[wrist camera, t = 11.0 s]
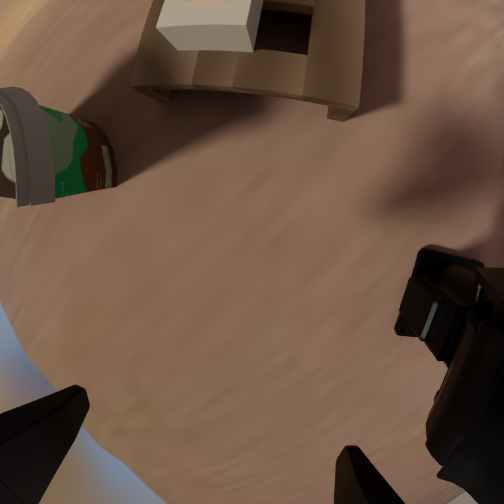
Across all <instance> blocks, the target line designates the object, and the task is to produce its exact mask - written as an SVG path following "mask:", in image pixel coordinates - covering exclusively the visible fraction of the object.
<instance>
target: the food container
mask: <svg viewBox="0 0 504 504" xmlns="http://www.w3.org/2000/svg"><path fill="white" fill-rule="evenodd" d="M116 175H117V170H116V164H115V158H114V153H113V149H112V147H111V145H110V143H109V141H108V138H107V136H106V134H105V133H104V132H103V131H102V130H101V129H100V128H99V127H98V126H97V125H96V124H95V123H93V122H90V121H87V120H84V119H81V118H78V117H75V116H72V115H69V114H66V113H63V112H60V111H56V110H53V109H50V108H46V107H43V106H40V105H38V103H37V101H36V99H35V98H34V97H33V96H32V95H31V94H30V93H29V92H28V91H26V90H24V89H22V88H18V87H7V88H0V197H7V198H14V199H16V207H21V206H26V205H30V206H31V205H38V204H45V203H52V202H55V199H56V198H60V197H65V196H70V195H75V194H80V193H85V192H90V191H96V190H101V189H107V188H113V187H116Z"/></svg>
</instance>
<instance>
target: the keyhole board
mask: <svg viewBox="0 0 504 504" xmlns="http://www.w3.org/2000/svg"><path fill="white" fill-rule="evenodd" d="M164 1H165V0H153V3H152V6H151V9H150V11H149V14H148V17H147V20H146V24H145V27H144V30H143V33H142V37H141V40H140V43H139V47H138V51H137V54H136V58H135V62H134V66H133V70H132V74H131V79H130V83H129V87H131V88H133V89H135V90H137V91H139V92H141V93H143V94H145V95H147V96H149V97H151V98H153V99H155V100H157V101H171V98H172V93H173V89H185V90H213V91H228V92H240V93H251V94H260V95H268V96H275V97H282V98H289V99H295V100H301V101H307V102H312V103H317V104H322V105H327V106H329V108H328V115H327V118H328V119H333V120H338V121H342V122H343V121H344V120H345V119H346V118H348V117H349V116H350V115H351V114H352V113H353V112H354V111H355V110H357V109H358V108H359V102H360V92H361V81H362V68H363V54H364V34H365V0H263V5H262V9H269V10H279V11H288V12H296V13H303V14H309V15H312V21H311V29H310V37H309V45H308V53H307V55H302V54H296V53H289V52H282V51H274V50H264V49H254V51H253V52H241V51H220V50H184V51H178V50H177V49H176V48H175V47H174V46H173V45H172V44H171V43H170V42H169V41H168V40H167V39H166V38H165V37H164V36H163V35H162V33H161V32H160V31H159V30H158V29H157V28H156V25H157V22H158V19H159V16H160V13H161V10H162V7H163V4H164Z"/></svg>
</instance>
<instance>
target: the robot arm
mask: <svg viewBox="0 0 504 504" xmlns="http://www.w3.org/2000/svg"><path fill="white" fill-rule="evenodd" d="M425 253H426V258H424V259H423V255H424V254H425ZM479 266H480V268H478V267H479ZM399 311H400V313H399V316H398V319H397V321H396V324H395V327H394V330H395V332H396V334H397V335H399V336H409V337H418V338H419V339H420V341H424V343H425V344H426V345H427V347H428V348H429V350H430V351H431V352H432V354H433V355H434V357H435V358H436V359H437V361H443V362H444V363H445V365H446V366H447V368H448V370H447V373H446V375H445V378H444V380H443V382H442V385H441V387H440V389H439V391H437V393H436V395H435V397H434V404H433V406H432V408H431V410H430V412H429V415H428V418H427V421H426V436H427V441H426V443H425V444H426V447H427V449H428V451H429V453H430V454H431V456H432V457H433V458H434V459H435V460H436V461H437V462H438V463H439V464H440V465H441V466H443V467H442V468H441V470H440V471H439V472H438V473H437V477H438V478H439V479H442V480H446V481H449V482H452V483H454V484H456V485H458V486H459V487H461V488H463V489H464V490H465V491H466V492H468V493H469V494H470V495H471V496H472V498H473V499H474V500H475V501H476V502H477V503H478V504H504V268H485V267H484V264H483V263H482V262H480V261H477V260H473V259H469V258H465V257H461V256H457V255H452V254H448V253H444V252H440V251H435V250H431V249H426V248H423V249H421V250H420V251H419V252H418V255H417V258H416V262H415V266H414V269H413V273H412V276H411V277H410V278H409V280H408V284H407V287H406V290H405V293H404V296H403V299H402V302H401V305H400V308H399ZM401 327H403V329H401V330H399V329H400V328H401ZM89 407H90V403H89V399H88V396H87V392H86V390H85V388H83V387H81V386H78V385H72V386H70V387H68V388H65V389H63V390H60V391H58V392H55V393H53V394H51V395H48V396H45V397H43V398H40V399H38V400H35V401H33V402H30V403H27V404H25V405H22V406H20V407H17V408H14V409H11V410H9V411H6V412H3V413H1V414H0V504H39V502H40V500H41V498H42V497H43V494H44V493H45V491H46V489H47V487H48V486H49V484H50V482H51V480H52V479H53V477H54V475H55V473H56V471H57V470H58V468H59V466H60V464H61V463H62V461H63V459H64V457H65V456H66V454H67V452H68V451H69V449H70V447H71V446H72V444H73V442H74V441H75V439H76V437H77V434H78V432H79V430H80V427H81V425H82V423H83V421H84V419H85V417H86V414H87V412H88V410H89ZM334 504H405V503H404V502H403V500H402V499H401V498H400V497H399V496H398V494H397V493H396V492H395V491H394V490H393V489H392V487H391V486H390V485H389V484H388V482H387V481H386V480H385V479H384V478H383V476H382V475H381V474H380V473H379V472H378V470H377V469H376V468H375V467H374V465H373V464H372V463H371V462H370V460H369V459H368V458H367V457H366V455H365V454H364V453H363V452H362V450H361V449H360V448H359V447H358V446H356V445H347V446H345V447H344V448H343V450H342V452H341V453H340V455H339V456H338V458H337V460H336V470H335V488H334Z"/></svg>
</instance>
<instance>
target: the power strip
mask: <svg viewBox="0 0 504 504" xmlns="http://www.w3.org/2000/svg"><path fill="white" fill-rule="evenodd" d="M262 5H263V0H165V1H164V4H163V7H162V10H161V13H160V16H159V19H158V22H157V25H156V28H157V29H158V30H159V31H160V32H161V33H162V35H163V36H164V37H165V38H166V39H167V40H168V41H169V42H170V43H171V44H172V45H173V46H174V47H175V48H176V49H177V50H178V51H184V50H220V51H241V52H253V51H254V46H255V41H256V35H257V30H258V25H259V20H260V15H261V10H262Z"/></svg>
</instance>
